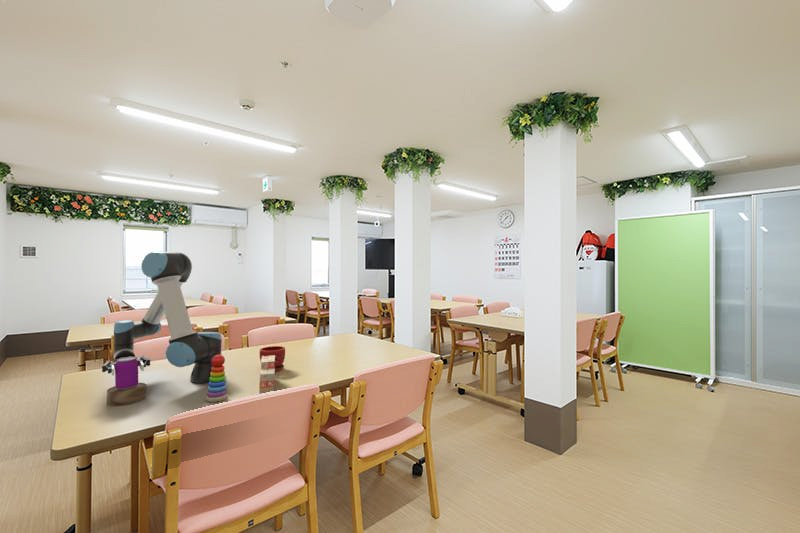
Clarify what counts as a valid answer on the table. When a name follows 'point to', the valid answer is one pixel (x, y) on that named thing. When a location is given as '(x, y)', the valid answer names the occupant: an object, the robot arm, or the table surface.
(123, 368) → the beverage can
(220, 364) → the stacking toy
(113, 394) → the walnut pedestal
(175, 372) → the table surface
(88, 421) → the table surface
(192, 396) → the table surface
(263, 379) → the stack of blocks
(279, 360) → the plant pot
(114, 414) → the table surface
